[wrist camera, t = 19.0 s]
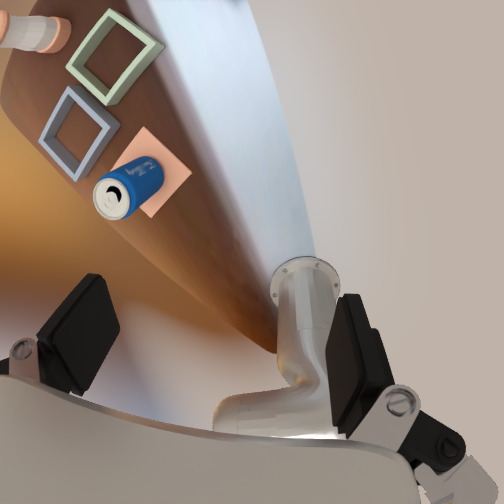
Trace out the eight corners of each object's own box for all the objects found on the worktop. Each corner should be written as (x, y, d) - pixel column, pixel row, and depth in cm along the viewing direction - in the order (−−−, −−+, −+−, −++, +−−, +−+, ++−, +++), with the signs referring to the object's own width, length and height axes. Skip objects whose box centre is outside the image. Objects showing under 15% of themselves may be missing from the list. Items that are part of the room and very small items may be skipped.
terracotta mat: (192, 172, 43) (192, 172, 42) (152, 217, 47) (151, 218, 47) (144, 126, 39) (143, 126, 39) (108, 175, 44) (107, 175, 43)
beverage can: (173, 171, 42) (141, 195, 32) (152, 200, 45) (119, 232, 35) (142, 147, 41) (102, 165, 30) (124, 178, 43) (83, 203, 33)
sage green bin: (165, 47, 33) (156, 43, 30) (117, 104, 38) (105, 105, 35) (119, 12, 30) (109, 8, 26) (77, 67, 34) (65, 67, 31)
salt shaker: (58, 14, 28) (-15, 4, 11) (78, 25, 30) (0, 14, 13) (39, 45, 31) (-35, 47, 14) (57, 58, 33) (-23, 61, 16)
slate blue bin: (121, 124, 39) (110, 127, 36) (86, 176, 44) (75, 182, 41) (80, 85, 36) (68, 85, 33) (50, 137, 40) (38, 141, 37)
